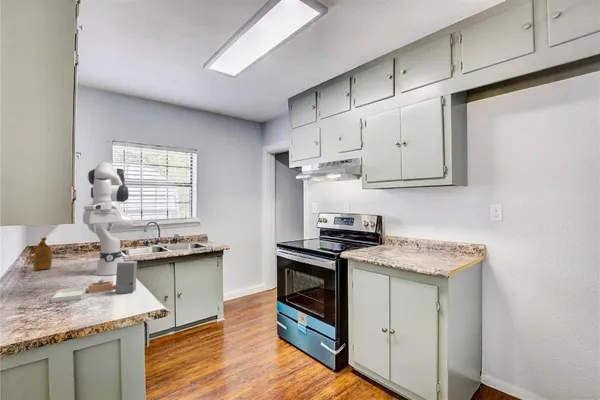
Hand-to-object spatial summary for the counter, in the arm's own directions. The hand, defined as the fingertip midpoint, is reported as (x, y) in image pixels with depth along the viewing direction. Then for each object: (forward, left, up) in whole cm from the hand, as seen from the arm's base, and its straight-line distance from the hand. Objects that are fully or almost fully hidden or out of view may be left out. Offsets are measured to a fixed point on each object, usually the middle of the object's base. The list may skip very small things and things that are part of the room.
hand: (102, 231), depth 164 cm
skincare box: (+14, +13, -31) cm, 36 cm away
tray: (+11, -12, -31) cm, 35 cm away
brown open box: (+5, 0, -31) cm, 31 cm away
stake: (+5, 0, -31) cm, 31 cm away
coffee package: (-74, -44, -31) cm, 91 cm away
